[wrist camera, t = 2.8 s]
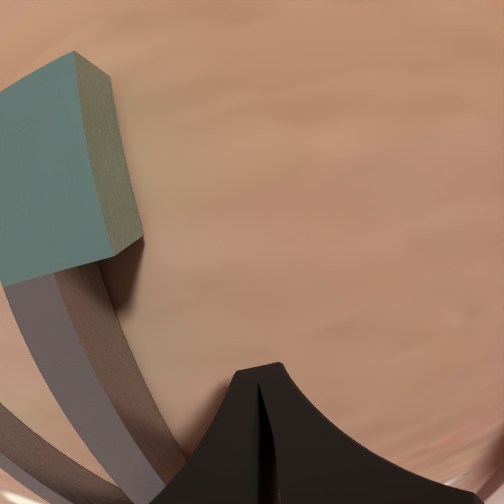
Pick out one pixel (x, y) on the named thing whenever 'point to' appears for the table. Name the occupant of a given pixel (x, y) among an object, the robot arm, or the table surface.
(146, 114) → the table surface
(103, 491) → the tong fixed arm
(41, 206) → the tong free arm
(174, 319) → the table surface
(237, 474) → the robot arm
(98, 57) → the table surface
